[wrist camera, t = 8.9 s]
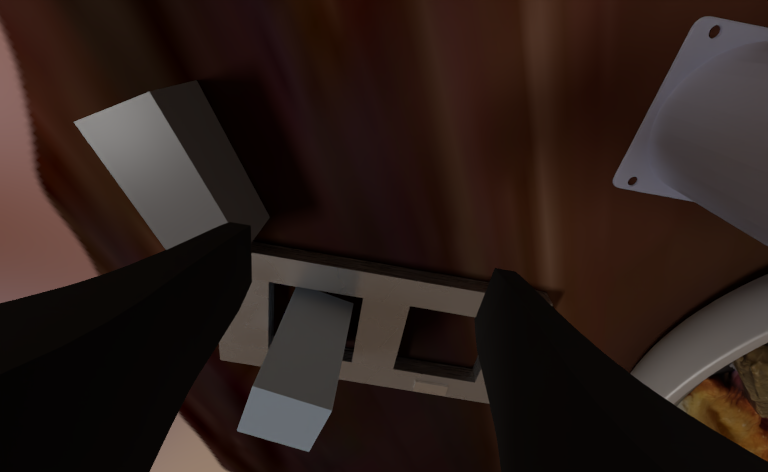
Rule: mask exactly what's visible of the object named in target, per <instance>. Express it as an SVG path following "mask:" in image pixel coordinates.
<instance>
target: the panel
mask: <svg viewBox="0 0 768 472" xmlns="http://www.w3.org/2000/svg"><path fill="white" fill-rule="evenodd" d="M251 255H252V283H251V285H250V288H249V290H248V292H247V295H246V297H245V299H244V301H243V303H242V305H241V307H240V310H239V311H238V313H237V315H236V316H235V318H234V320H233V321H232V323H231V324H230V326H229V328H228V329H227V331H226V332H225V334H224V335H223V337H222V339H221V340H220V342H219V349H220V360H224V361H231V362H237V363H243V364H249V365H255V366H262V364H263V361H264V359H265V357H266V355H267V352H268V350H269V348H270V345H271V343H272V341H273V339H274V287H275V283H277V284H283V285H289V286H295V287H301V288H307V289H313V290H319V291H324V292H330V293H336V294H342V295H348V296H354V297H360V298H363V302H362V307H361V313H360V319H359V324H358V330H357V335H356V341H355V346H354V349H348V348H345V349H344V354H343V359H342V364H341V369H340V374H339V379H341V380H347V381H354V382H360V383H366V384H372V385H378V386H384V387H390V388H397V389H403V390H409V391H415V392H421V393H427V394H433V395H440V396H446V397H452V398H458V399H464V400H470V401H476V402H483V403H489V399H488V395H487V391H486V387H485V382H484V378H483V374H482V369H481V365H480V361H479V356H478V357H477V360H476V362H475V364H474V367H473V369H469V368H463V367H457V366H451V365H445V364H438V363H432V362H426V361H420V360H414V359H408V358H402V357H397V353H398V349H399V345H400V342H401V338H402V334H403V330H404V327H405V323H406V319H407V315H408V312H409V308H410V306H413V307H418V308H424V309H430V310H436V311H442V312H448V313H454V314H460V315H465V316H471V317H476V315H477V312H478V310H479V307H480V305H481V302H482V300H483V297H484V295H485V292H486V290H487V287H488V284H489V282H484V281H478V280H473V279H467V278H461V277H455V276H450V275H444V274H438V273H432V272H427V271H421V270H415V269H409V268H404V267H398V266H392V265H386V264H381V263H375V262H369V261H363V260H357V259H352V258H346V257H340V256H334V255H329V254H323V253H317V252H311V251H306V250H300V249H294V248H288V247H283V246H277V245H271V244H265V243H259V242H254V241H252V242H251ZM537 292H538V293H539V294H540V295H541V296H542V297H543V298H544V299H545V300H546V301H547V302H548V303H549V304H550V305H551V306H552V305H553V304H552V302H551V300H550V298H549V296H548V294H547V293H546V292H542V291H537Z"/></svg>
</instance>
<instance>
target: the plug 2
mask: <svg viewBox="0 0 768 472" xmlns="http://www.w3.org/2000/svg"><path fill="white" fill-rule="evenodd" d="M353 304H354V303H351V302H348V301H345V300H342V299H340V298H337V297H334V296H331V295H328V294H326V293H323V292H320V291H317V290H313V289H307V288H301V287H296V288H295V291H294V293H293V295H292V297H291V300H290V302H289V304H288V307H287V309H286V311H285V313H284V316H283V318H282V320H281V323H280V325H279V327H278V329H277V332H276V334H275V336H274V339H273V341H272V343H271V345H270V348H269V350H268V352H267V355H266V357H265V359H264V361H263V364H262V366H261V368H260V371H259V373H258V375H257V377H256V380H255V382H254V384H253V387H252V389H251V392H250V395H249V398H248V401H247V404H246V406H245V409H244V412H243V415H242V418H241V420H240V423H239V426H238V429H237V431H239V432H242V433H245V434H249V435H252V436H256V437H259V438H263V439H266V440H270V441H273V442H277V443H280V444H283V445H287V446H290V447H294V448H297V449H301V450H304V451H308V452H309V451H310V449H311V447H312V445H313V444H314V442H315V440H316V438H317V437H318V435H319V433H320V431H321V429H322V428H323V426H324V424H325V422H326V421H327V419H328V417H329V415H330V413H331V412H332V409H333V404H334V399H335V394H336V389H337V384H338V379H339V374H340V369H341V364H342V359H343V354H344V349H345V344H346V339H347V334H348V329H349V324H350V319H351V314H352V309H353Z"/></svg>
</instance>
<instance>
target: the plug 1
mask: <svg viewBox="0 0 768 472" xmlns="http://www.w3.org/2000/svg"><path fill="white" fill-rule="evenodd" d="M74 123H75V125H76V126H77V127H78V129H79V130H80V131H81V133H82V134H83V136H84V137H85V138H86V140H87V141H88V143H89V144H90V145H91V147H92V148H93V149H94V151H95V152H96V154H97V155H98V156H99V158H100V159H101V161H102V162H103V163H104V165H105V166H106V167H107V169H108V170H109V172H110V173H111V174H112V176H113V177H114V179H115V180H116V181H117V183H118V184H119V185H120V187H121V188H122V190H123V191H124V192H125V194H126V195H127V197H128V198H129V199H130V201H131V202H132V203H133V205H134V206H135V208H136V209H137V210H138V212H139V213H140V215H141V216H142V217H143V219H144V220H145V221H146V223H147V224H148V226H149V227H150V228H151V230H152V231H153V233H154V234H155V235H156V237H157V238H158V239H159V241H160V242H161V244H162V245H163V246H164V248H165V249H166V250H167V249H169V248H172V247H174V246H176V245H178V244H180V243H183V242H185V241H187V240H189V239H192V238H194V237H196V236H198V235H200V234H202V233H205V232H207V231H209V230H211V229H213V228H216V227H218V226H220V225H223V224H225V223H228V222H234V223H239V224H245V225H251V242H252V241H253V240H254V238H255V237H256V236H257V234H258V233H259V232H260V230H261V229H262V227H263V226H264V225H265V223H266V222H267V221H268V219H269V218H270V217H269V215H268V213H267V211H266V209H265V207H264V205H263V203H262V202H261V200H260V198H259V196H258V194H257V192H256V190H255V188H254V187H253V185H252V183H251V181H250V179H249V177H248V175H247V174H246V172H245V170H244V168H243V166H242V164H241V162H240V160H239V159H238V157H237V155H236V153H235V151H234V149H233V147H232V145H231V144H230V142H229V140H228V138H227V136H226V134H225V132H224V130H223V129H222V127H221V125H220V123H219V121H218V119H217V117H216V115H215V114H214V112H213V110H212V108H211V106H210V104H209V102H208V100H207V99H206V97H205V95H204V93H203V91H202V89H201V87H200V85H199V84H198V82H197V80H196V81H192V82H188V83H183V84H179V85H175V86H171V87H167V88H163V89H159V90H154V91H150V92H147V93H145V94H142V95H140V96H137V97H135V98H132V99H130V100H127V101H125V102H122V103H120V104H117V105H115V106H112V107H110V108H107V109H105V110H102V111H100V112H97V113H95V114H92V115H90V116H87V117H85V118H82V119H80V120H77V121H75V122H74Z"/></svg>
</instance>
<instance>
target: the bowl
mask: <svg viewBox="0 0 768 472" xmlns="http://www.w3.org/2000/svg"><path fill="white" fill-rule="evenodd" d="M630 374H631V375H633V376H634V377H635V378H637V379H638V380H639V381H641V382H642V383H643V384H645V385H646V386H648V387H649V388H650V389H652V390H653V391H655V392H656V393H658V394H659V395H661V396H662V397H664V398H665V399H666V400H668V401H669V402H671V403H672V404H674V405H675V406H677V407H678V408H680V409H681V410H683V411H684V412H686V413H687V414H689V415H690V416H692V417H694V418H695V419H697V420H698V421H700V422H702V423H703V424H705V425H706V426H708V427H710V428H711V429H713V430H714V431H716V432H718V433H720V434H721V435H723V436H725V437H726V438H728V439H730V440H731V441H733V442H735V443H736V444H738V445H740V446H741V447H743V448H745V449H746V450H748V451H750V452H752V453H753V454H755V455H757V456H759V457H760V458H762V459H764V460H766V461H768V274H767V275H764V276H762V277H760V278H757V279H755V280H753V281H751V282H749V283H747V284H745V285H743V286H741V287H739V288H737V289H735V290H733V291H731V292H729V293H727V294H726V295H724V296H722V297H720V298H719V299H717V300H715V301H713V302H712V303H710V304H708V305H707V306H705V307H704V308H702V309H700V310H699V311H697V312H696V313H694V314H693V315H692V316H690V317H689V318H687V319H686V320H684V321H683V322H682V323H680V324H679V325H678V326H676V327H675V328H674V329H673V330H671V331H670V332H669V333H668V334H667V335H665V336H664V337H663V338H662V339H661V340H660V341H659V342H658V343H657V344H655V345H654V346H653V347H652V348H651V349H650V350H649V351H648V353H647V354H646V355H645V356H644V357H643V358H642V359H641V360H640V362H639V363H638V364H637V365H636V366H635V368H634V369H633V370H632V372H631V373H630Z"/></svg>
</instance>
